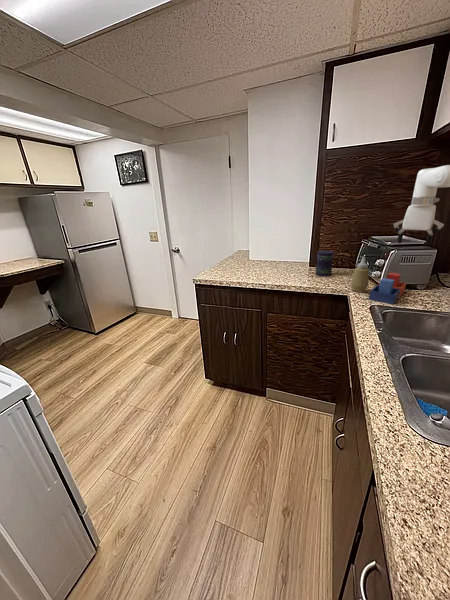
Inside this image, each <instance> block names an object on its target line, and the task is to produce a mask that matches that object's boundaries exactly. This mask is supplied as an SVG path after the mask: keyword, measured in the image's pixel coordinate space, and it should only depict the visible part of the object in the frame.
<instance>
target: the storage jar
mask: <svg viewBox="0 0 450 600" xmlns="http://www.w3.org/2000/svg"><path fill="white" fill-rule="evenodd" d="M334 253H335V251H333V250H327V249H323V250H317V254H316V265H315V276H318V277H330V276H332V271H333V260H334Z"/></svg>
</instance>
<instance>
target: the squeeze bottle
mask: <svg viewBox="0 0 450 600" xmlns="http://www.w3.org/2000/svg"><path fill="white" fill-rule="evenodd" d="M366 262H367V261H366V256H362V257H361V260H360V262H359V263H357V266H356V267H355V268H354V272H353V275H352V279H351V282H350V285H351V288H352V291H353V292H355V293H364V292H366V290H367V289H368V287H369V280H370V279H369V278H370V269H369V264H368V263H366Z"/></svg>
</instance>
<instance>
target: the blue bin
mask: <svg viewBox="0 0 450 600" xmlns="http://www.w3.org/2000/svg"><path fill="white" fill-rule="evenodd" d="M378 290H379V286H378V284H377V285H375V286H374V287H373V288H371V289H370V290H369V295H368V300H371V301H375V302H380V303H384V304H389V305H394V304H395V303H396V302H397V300H399V298H400V297H399V294H400V289H395V288H393V291H392V294H388V293H382V292H378Z"/></svg>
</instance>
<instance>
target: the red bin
mask: <svg viewBox="0 0 450 600" xmlns="http://www.w3.org/2000/svg"><path fill="white" fill-rule="evenodd" d="M377 285H378V286H379V285H380V282H379V283H378V284H377ZM406 286H407V282H404V281H403V282H402V281H399V286H398V287H394V286H393V288H395V289H400V294H399V298H400V297H401V296H402V295H403V294H404V293H405V291H406Z"/></svg>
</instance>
